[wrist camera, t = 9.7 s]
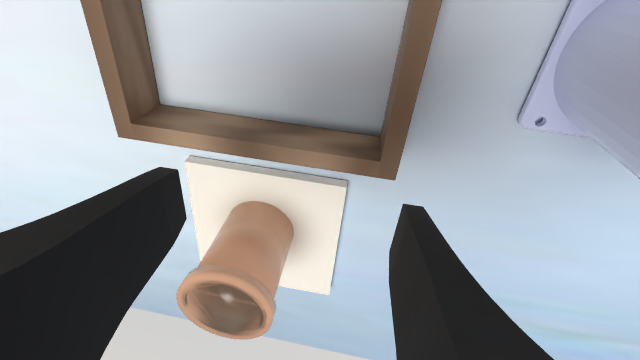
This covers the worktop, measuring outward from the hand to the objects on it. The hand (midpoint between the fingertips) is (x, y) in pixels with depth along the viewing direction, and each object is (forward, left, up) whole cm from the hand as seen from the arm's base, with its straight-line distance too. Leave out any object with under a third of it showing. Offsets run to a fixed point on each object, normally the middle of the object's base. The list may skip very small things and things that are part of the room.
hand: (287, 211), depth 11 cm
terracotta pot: (+4, +10, -10) cm, 15 cm away
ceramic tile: (+4, +11, -10) cm, 15 cm away
